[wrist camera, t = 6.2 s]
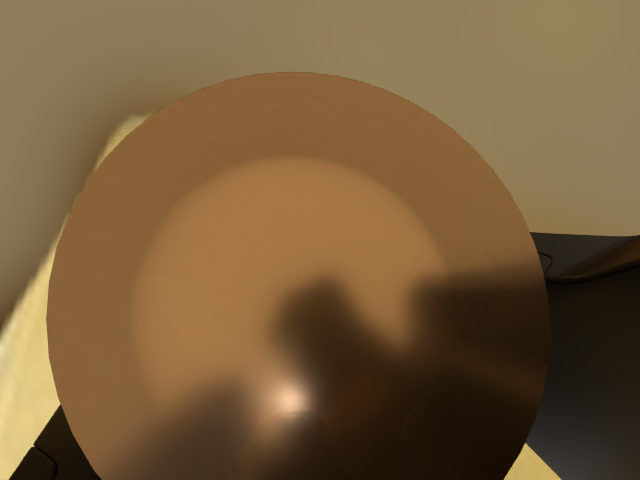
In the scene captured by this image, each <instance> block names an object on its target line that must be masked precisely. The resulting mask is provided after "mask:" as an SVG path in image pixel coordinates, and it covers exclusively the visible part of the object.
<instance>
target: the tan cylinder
mask: <svg viewBox="0 0 640 480" xmlns="http://www.w3.org/2000/svg"><path fill="white" fill-rule="evenodd" d="M46 322H47V336H48V350H49V360H50V364H51V368H52V373H53V377H54V382H55V386H56V391H57V395H58V398H59V401H60V403H61V406H62V408H63V411H64V413H65V416H66V418H67V421H68V424H69V426H70V429H71V431H72V434H73V435H74V437H75V439H76V441H77V442H78V444H79V446H80V447H81V449H82V451H83V453H84V454H85V456H86V458H87V459H88V461H89V463H90V464H91V466H92V468H93V470H94V471H95V472H96V473H97V474H98V476H99V477H100V478H101V479H102V480H503V479H504V478H505V476H506V475H507V473H508V471H509V470H510V468H511V467H512V465H513V463H514V462H515V460H516V459H517V457H518V455H519V454H520V452H521V450H522V448H523V446H524V444H525V441H526V439H527V437H528V435H529V432H530V430H531V428H532V426H533V424H534V421H535V418H536V415H537V411H538V408H539V405H540V401H541V398H542V395H543V391H544V387H545V381H546V375H547V368H548V362H549V349H550V317H549V303H548V295H547V290H546V285H545V280H544V274H543V269H542V266H541V263H540V260H539V256H538V253H537V250H536V247H535V244H534V241H533V239H532V236H531V234H530V232H529V229H528V227H527V225H526V222H525V220H524V218H523V216H522V214H521V212H520V210H519V209H518V207H517V205H516V203H515V202H514V200H513V198H512V196H511V195H510V193H509V191H508V190H507V189H506V187H505V186H504V184H503V183H502V182H501V180H500V179H499V177H498V176H497V174H496V173H495V172H494V170H493V169H492V168H491V167H490V166H489V165H488V163H487V162H486V161H485V160H484V159H483V158H482V157H481V156H480V154H479V153H478V152H477V151H476V150H475V149H474V148H473V147H472V146H471V145H470V144H469V143H468V142H467V141H465V140H464V139H463V138H462V137H461V136H460V135H459V134H458V133H457V132H456V131H454V130H453V129H452V128H450V127H449V126H448V125H446V124H445V123H444V122H442V121H441V120H439V119H438V118H437V117H436V116H434V115H432V114H431V113H429V112H427V111H426V110H424V109H423V108H421V107H419V106H418V105H416V104H414V103H413V102H410V101H409V100H406V99H404V98H402V97H400V96H398V95H396V94H394V93H392V92H389V91H387V90H384V89H381V88H379V87H376V86H373V85H370V84H367V83H364V82H361V81H356V80H352V79H348V78H343V77H340V76H333V75H326V74H318V73H307V72H278V73H266V74H256V75H251V76H246V77H241V78H237V79H232V80H228V81H225V82H221V83H218V84H216V85H212V86H209V87H206V88H203V89H201V90H198V91H196V92H194V93H192V94H190V95H188V96H185V97H183V98H181V99H179V100H177V101H175V102H173V103H172V104H170V105H168V106H167V107H165V108H164V109H162V110H160V111H159V112H157V113H155V114H154V115H152V116H151V117H149V118H148V119H147V120H146V121H144V122H143V123H142V124H141V125H139V126H138V127H137V128H136V129H134V130H133V131H132V132H131V133H129V134H128V135H127V136H126V137H125V138H124V139H123V140H122V141H121V142H120V143H119V144H118V145H117V146H116V147H115V148H114V149H113V151H112V152H111V153H110V154H109V155H108V156H107V157H106V158H105V159H104V160H103V162H102V163H101V164H100V166H99V167H98V168H97V170H96V171H95V173H94V174H93V175H92V177H91V178H90V179H89V181H88V182H87V183H86V185H85V187H84V188H83V190H82V192H81V194H80V196H79V198H78V199H77V201H76V203H75V205H74V207H73V209H72V210H71V212H70V214H69V217H68V219H67V222H66V225H65V227H64V230H63V232H62V235H61V238H60V240H59V243H58V246H57V249H56V254H55V258H54V263H53V267H52V272H51V276H50V280H49V291H48V304H47V317H46Z"/></svg>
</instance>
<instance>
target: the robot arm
mask: <svg viewBox="0 0 640 480" xmlns="http://www.w3.org/2000/svg"><path fill="white" fill-rule="evenodd" d="M530 234H531V236H532V239H533V241H534V244H535V247H536V250H537V253H538V256H539V260H540V263H541V266H542V269H543V274H544V280H545V285H546V290H547V295H548V303H549V317H550V349H549V362H548V368H547V375H546V381H545V387H544V391H543V395H542V398H541V401H540V405H539V408H538V411H537V415H536V418H535V421H534V424H533V426H532V428H531V430H530V432H529V435H528V437H527V439H526V441H525V443H526V444H527V445H528V446H529V447H530V448H531V449H532V450H533V451H534V452H535V453H536V454H537V455H538V456H539V457H540V458H541V459H542V460H543V461H544V462H545V463H546V464H547V465H548V466H549V467H550V468H551V469H552V470H553V471H554V472H555V473H556V474H557V475H558V476H559V477H560V478H561V479H562V480H640V235H637V236H626V237H625V236H595V235H594V236H593V235H573V234H552V233H535V232H530ZM9 480H102V479H101V478H100V477H99V476H98V474H97V473H96V472H95V471H94V470H93V468H92V466H91V464H90V463H89V461H88V459H87V458H86V456H85V454H84V453H83V451H82V449H81V447H80V446H79V444H78V442H77V441H76V439H75V437H74V435H73V434H72V431H71V429H70V426H69V424H68V421H67V418H66V416H65V413H64V411H63V408H62V406H61V404H60V406H59V407H58V409H57V410H56V412H55V413H54V414H53V416H52V417H51V419H50V420H49V422H48V423H47V425H46V426H45V428H44V429H43V431H42V432H41V434H40V435H39V436H38V438H37V439H36V441H35V442H34V447H31V448H30V449H29V451H28V452H27V454H26V455H25V457H24V458H23V460H22V461H21V463H20V464H19V466H18V467H17V468H16V470H15V471H14V473H13V474H12V476H11V477H10V478H9Z"/></svg>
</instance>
